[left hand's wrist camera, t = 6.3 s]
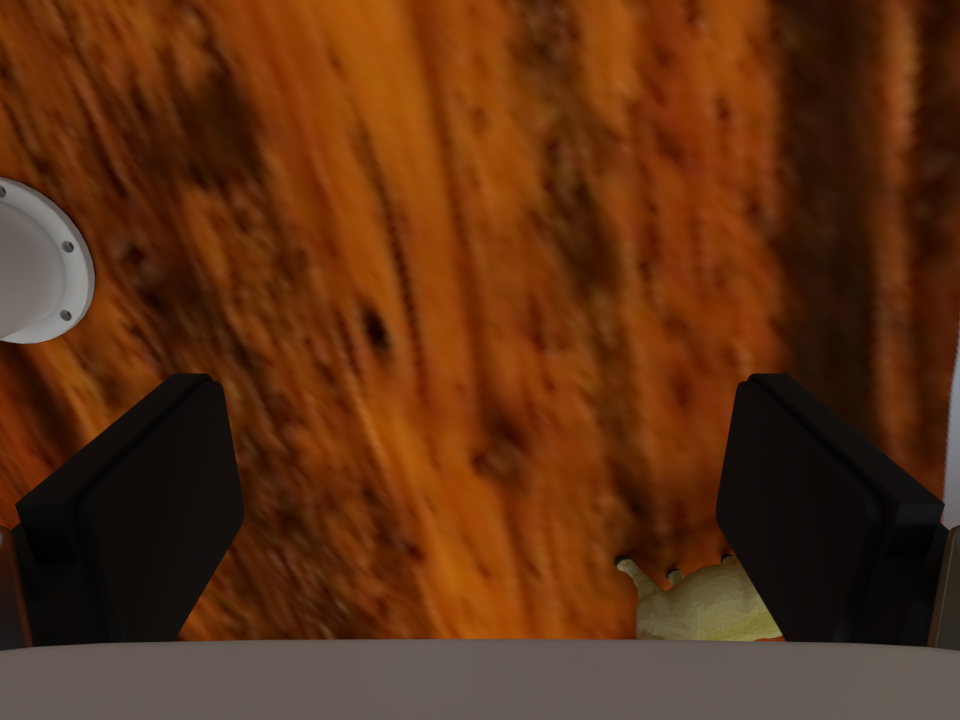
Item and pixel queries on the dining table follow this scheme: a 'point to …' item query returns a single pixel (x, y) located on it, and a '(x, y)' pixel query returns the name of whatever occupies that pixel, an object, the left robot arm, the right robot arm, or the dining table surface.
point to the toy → (701, 604)
